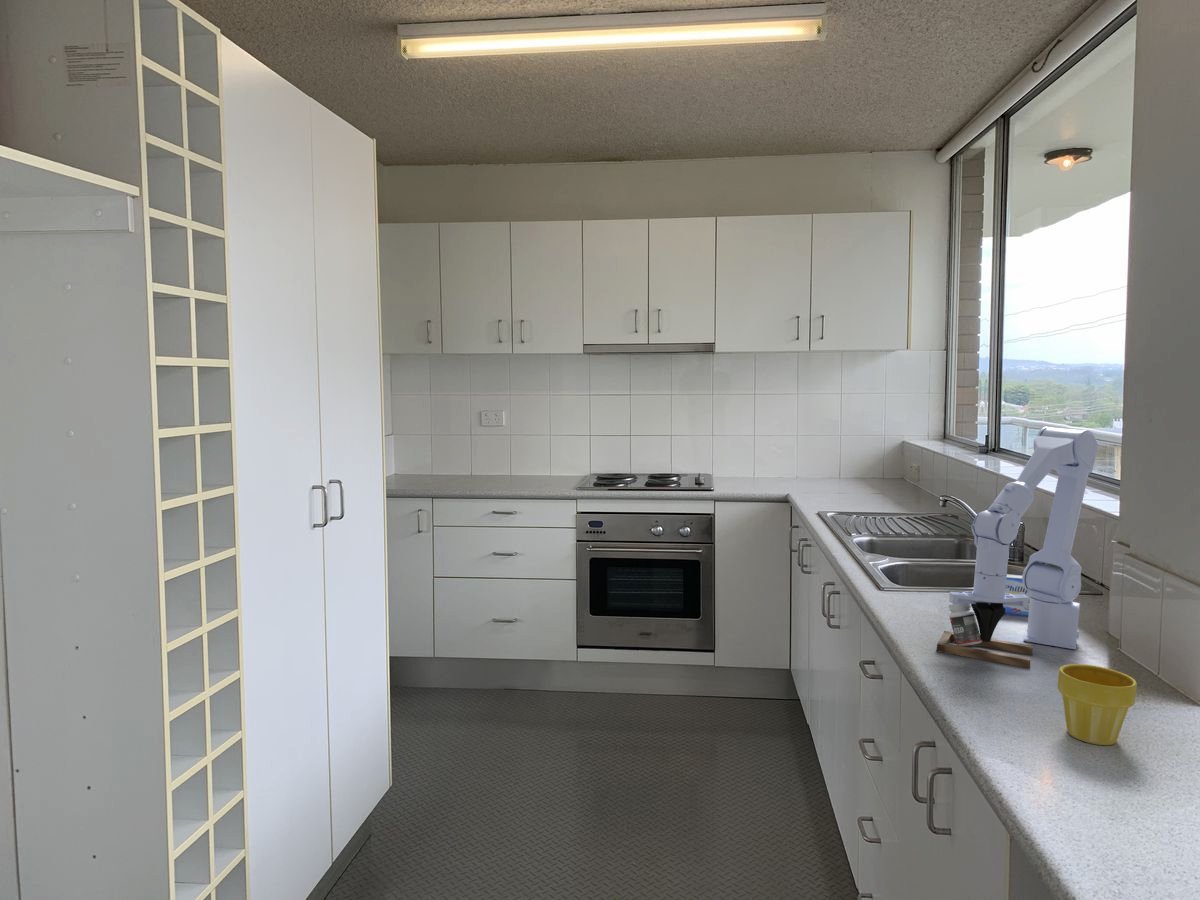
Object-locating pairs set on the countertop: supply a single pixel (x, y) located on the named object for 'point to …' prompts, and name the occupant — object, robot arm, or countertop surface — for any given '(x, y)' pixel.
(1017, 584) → the medicine box
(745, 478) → the countertop surface
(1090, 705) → the plant pot
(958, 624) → the pill bottle
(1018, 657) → the walnut guide channel
